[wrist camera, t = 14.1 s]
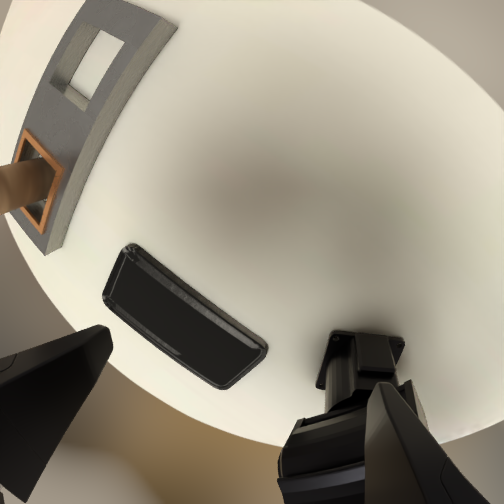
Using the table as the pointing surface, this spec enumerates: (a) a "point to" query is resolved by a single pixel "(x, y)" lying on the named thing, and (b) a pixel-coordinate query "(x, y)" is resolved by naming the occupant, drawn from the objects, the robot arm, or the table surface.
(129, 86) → the plate with square holes
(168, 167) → the table surface
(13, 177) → the peg
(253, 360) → the phone
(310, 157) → the table surface
